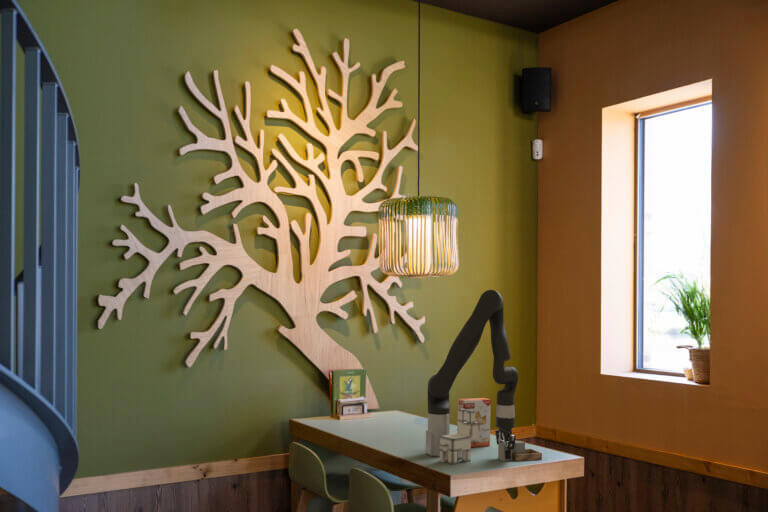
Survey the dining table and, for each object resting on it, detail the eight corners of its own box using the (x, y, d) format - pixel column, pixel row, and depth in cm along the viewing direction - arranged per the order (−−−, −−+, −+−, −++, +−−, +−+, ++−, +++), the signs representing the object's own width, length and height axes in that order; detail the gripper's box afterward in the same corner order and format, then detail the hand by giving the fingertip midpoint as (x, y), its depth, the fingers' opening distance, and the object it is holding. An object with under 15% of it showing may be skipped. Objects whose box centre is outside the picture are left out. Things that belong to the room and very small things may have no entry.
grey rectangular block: (516, 457, 300) (516, 443, 301) (511, 455, 304) (511, 441, 304) (525, 457, 302) (525, 442, 302) (520, 455, 305) (520, 440, 306)
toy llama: (435, 461, 294) (435, 411, 295) (466, 456, 305) (466, 408, 306) (447, 465, 288) (448, 414, 289) (479, 459, 299) (479, 410, 300)
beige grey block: (504, 461, 297) (504, 446, 297) (498, 459, 301) (498, 444, 301) (512, 460, 299) (512, 445, 299) (506, 458, 303) (506, 443, 303)
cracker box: (462, 448, 321) (463, 400, 322) (456, 445, 326) (456, 398, 327) (490, 446, 326) (491, 399, 327) (484, 443, 331) (484, 397, 333)
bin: (515, 461, 297) (515, 454, 298) (505, 456, 306) (505, 450, 306) (541, 459, 301) (541, 453, 301) (530, 454, 310) (530, 448, 310)
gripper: (489, 413, 306) (489, 454, 305) (505, 418, 293) (505, 462, 292) (505, 412, 309) (505, 453, 308) (522, 418, 295) (522, 461, 294)
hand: (505, 457), depth 300 cm, fingers closed on beige grey block, 4 cm apart
